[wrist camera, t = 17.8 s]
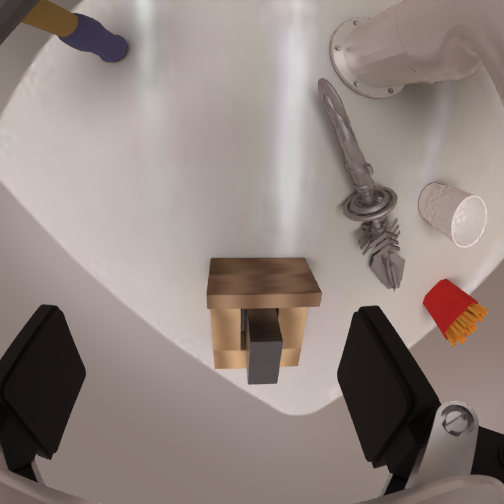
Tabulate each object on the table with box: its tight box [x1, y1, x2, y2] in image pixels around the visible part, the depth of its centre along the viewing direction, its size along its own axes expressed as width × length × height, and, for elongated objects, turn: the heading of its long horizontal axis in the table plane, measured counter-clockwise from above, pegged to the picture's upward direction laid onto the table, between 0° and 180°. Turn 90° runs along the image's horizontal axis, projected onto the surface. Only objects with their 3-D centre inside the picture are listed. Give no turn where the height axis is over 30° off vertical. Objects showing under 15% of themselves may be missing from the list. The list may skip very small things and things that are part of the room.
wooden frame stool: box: [207, 258, 322, 369], centre depth 44 cm, size 14×18×10 cm
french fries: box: [423, 279, 488, 347], centre depth 45 cm, size 9×4×13 cm, turn 138°
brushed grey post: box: [244, 308, 283, 384], centre depth 43 cm, size 4×8×13 cm, turn 178°
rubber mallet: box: [0, 0, 127, 62], centre depth 17 cm, size 12×8×30 cm, turn 124°
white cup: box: [418, 183, 487, 248], centre depth 38 cm, size 8×8×10 cm
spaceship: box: [318, 78, 405, 292], centre depth 38 cm, size 8×35×8 cm
